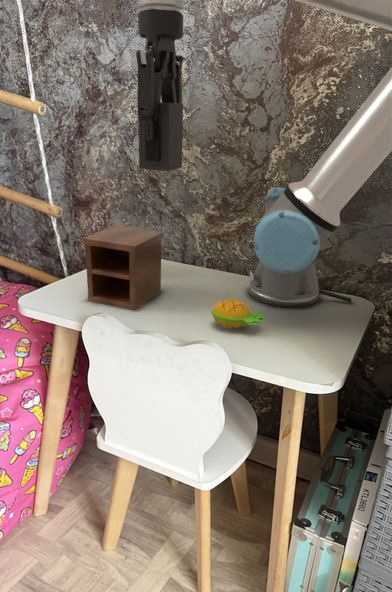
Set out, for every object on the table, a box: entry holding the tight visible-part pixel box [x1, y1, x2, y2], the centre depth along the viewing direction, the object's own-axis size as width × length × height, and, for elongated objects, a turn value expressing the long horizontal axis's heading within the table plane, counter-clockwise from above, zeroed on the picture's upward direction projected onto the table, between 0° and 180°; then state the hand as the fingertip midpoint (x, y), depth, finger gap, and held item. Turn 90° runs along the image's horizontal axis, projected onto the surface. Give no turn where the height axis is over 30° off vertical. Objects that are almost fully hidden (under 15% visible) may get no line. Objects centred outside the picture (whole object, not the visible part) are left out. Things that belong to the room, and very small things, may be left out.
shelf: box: [82, 225, 164, 311], centre depth 109 cm, size 12×13×13 cm
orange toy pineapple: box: [210, 298, 265, 329], centre depth 98 cm, size 7×10×5 cm
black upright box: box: [137, 101, 184, 172], centre depth 95 cm, size 6×6×11 cm
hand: (161, 158), depth 96 cm, fingers closed on black upright box, 6 cm apart
